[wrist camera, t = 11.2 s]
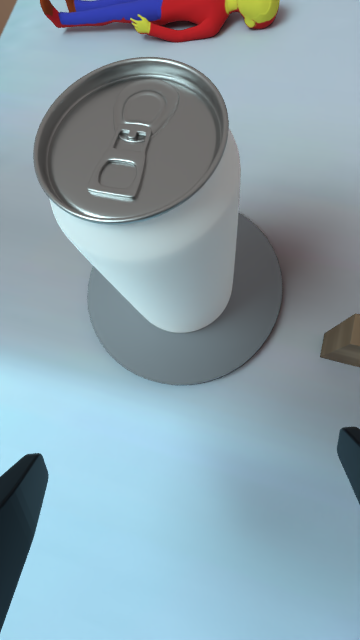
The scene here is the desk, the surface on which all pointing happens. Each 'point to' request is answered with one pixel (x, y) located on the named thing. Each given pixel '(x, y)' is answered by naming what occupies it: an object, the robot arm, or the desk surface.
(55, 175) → the can
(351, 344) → the partition
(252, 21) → the character figure
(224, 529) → the desk surface
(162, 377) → the pad
